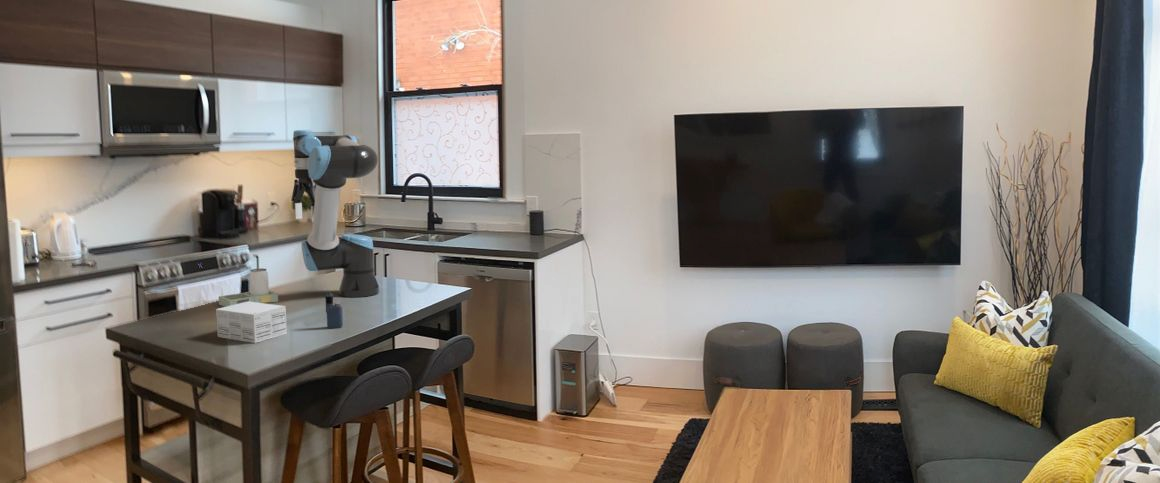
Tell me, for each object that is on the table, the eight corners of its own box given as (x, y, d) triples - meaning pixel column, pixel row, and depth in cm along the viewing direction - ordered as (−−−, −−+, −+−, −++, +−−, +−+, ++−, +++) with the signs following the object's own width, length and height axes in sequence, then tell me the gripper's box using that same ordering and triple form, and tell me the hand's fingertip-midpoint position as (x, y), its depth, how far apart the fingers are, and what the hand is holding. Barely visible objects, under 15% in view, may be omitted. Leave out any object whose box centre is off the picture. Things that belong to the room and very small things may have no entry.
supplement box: (288, 334, 260) (286, 305, 259) (255, 344, 249) (253, 314, 247) (250, 327, 268) (249, 300, 266) (217, 337, 256) (215, 308, 255)
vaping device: (327, 326, 269) (325, 291, 267) (343, 326, 270) (342, 290, 268) (325, 328, 267) (324, 292, 265) (342, 328, 267) (340, 292, 265)
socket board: (278, 301, 305) (278, 293, 305) (230, 309, 293) (229, 300, 292) (266, 297, 313) (266, 289, 312) (219, 304, 300) (218, 296, 299)
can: (272, 299, 309) (271, 268, 307) (264, 303, 302) (262, 271, 300) (256, 298, 309) (254, 268, 307) (247, 302, 303) (245, 271, 301)
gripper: (281, 167, 335) (283, 218, 338) (311, 170, 318) (313, 224, 321) (298, 166, 340) (300, 216, 344) (328, 169, 323) (330, 222, 327)
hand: (307, 220), depth 332 cm, fingers open, 13 cm apart
